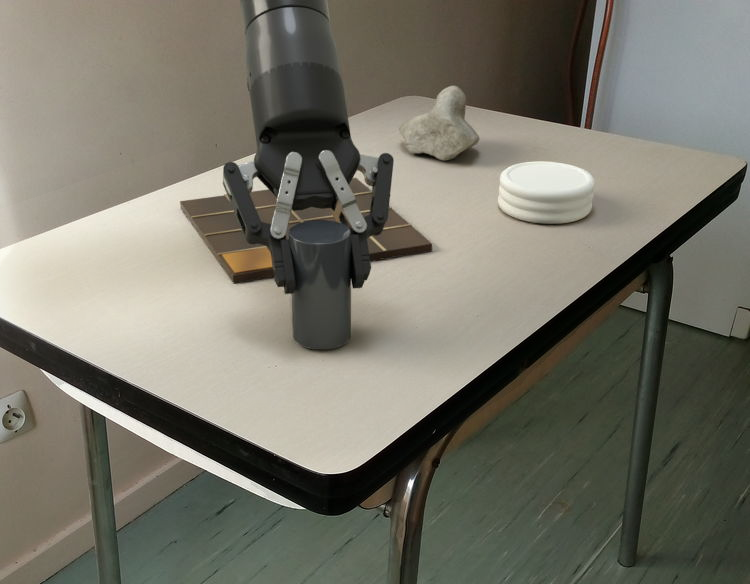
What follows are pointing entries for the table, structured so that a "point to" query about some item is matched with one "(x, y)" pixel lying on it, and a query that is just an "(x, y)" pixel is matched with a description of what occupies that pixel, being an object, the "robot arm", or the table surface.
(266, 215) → the board
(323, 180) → the robot arm
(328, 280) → the glossy charcoal cylinder
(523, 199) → the white ribbed disc
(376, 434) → the table surface
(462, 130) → the stone
